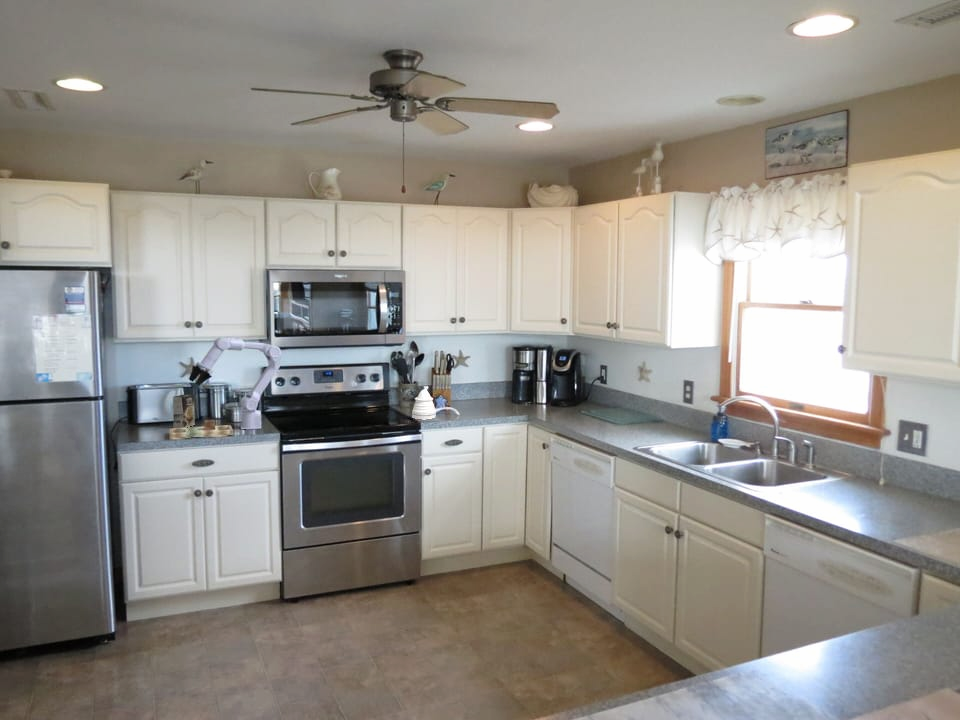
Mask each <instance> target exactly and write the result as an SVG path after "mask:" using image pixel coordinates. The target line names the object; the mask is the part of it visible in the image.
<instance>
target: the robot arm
mask: <svg viewBox="0 0 960 720" xmlns="http://www.w3.org/2000/svg"><path fill="white" fill-rule="evenodd" d="M243 349H247V350H257V351H259V352H262V353H263V355H264V356H265V358H266V359H267V363H268V365H267V367H266V368H265V370H264V371H263V372H262V374H261V375H260V377H259V378H258V380H257V381H256V383H255V384H254V386H253V387H252V389H251V390H249V391H248V392H247V393H246V394H245V395H244V396H243V397H242V398H240V400H239V401H240V402H239V404H240V407H241V411H240V414H241V425H240V426H239V427H240V429H241V430H242V429H246V430H259V429H262V413H261V412H262V411H261V410H257V408H258V404H259V402H260V399H261V395H262V394H263V393H264V391H265V389H266V388H267V387H268V385H269V384H270V382H271V381H272V379H273V378H274V376H275V375H276V373H277V372H278V370H279V369H280V367H281V360H282V356H283V353H282V350H281V348H280V347H279V346H277V345H272V344H269V343H263V342H254V341H253V342H251V341H250V342H249V341H246V342H245V341H244V340H243V339H241V338H240V337H236V338H232V337H231V338H230V337H227V336H226V337H221V336H220V337H217V338H215V339H214V340H213V345H212V347H211V348H210V349H209V351H208V352H207V353H206V355H205V356H204V358H203V359H202V360H201V362H199V361H198V362H196V363H195V364H194V365H192V366H191V373H190V375H189V378H188V380H189V381H190V382H194V381H195V380H196V381H195V384H196V385H197V386H199V387H200V386H201V385H202V384H204V383H205V382H206V381H207V380H209V379H211V378H212V377H213V376H212V375H213V373H214V370H212V368H213V367H214V365H216V363H217V362H218V360H219V358H220V357H221V355H222V354H223V353H224V351H226V350H228V351H238V352H239V351H240V352H241V351H242V350H243ZM197 377H198V378H197Z"/></svg>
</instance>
